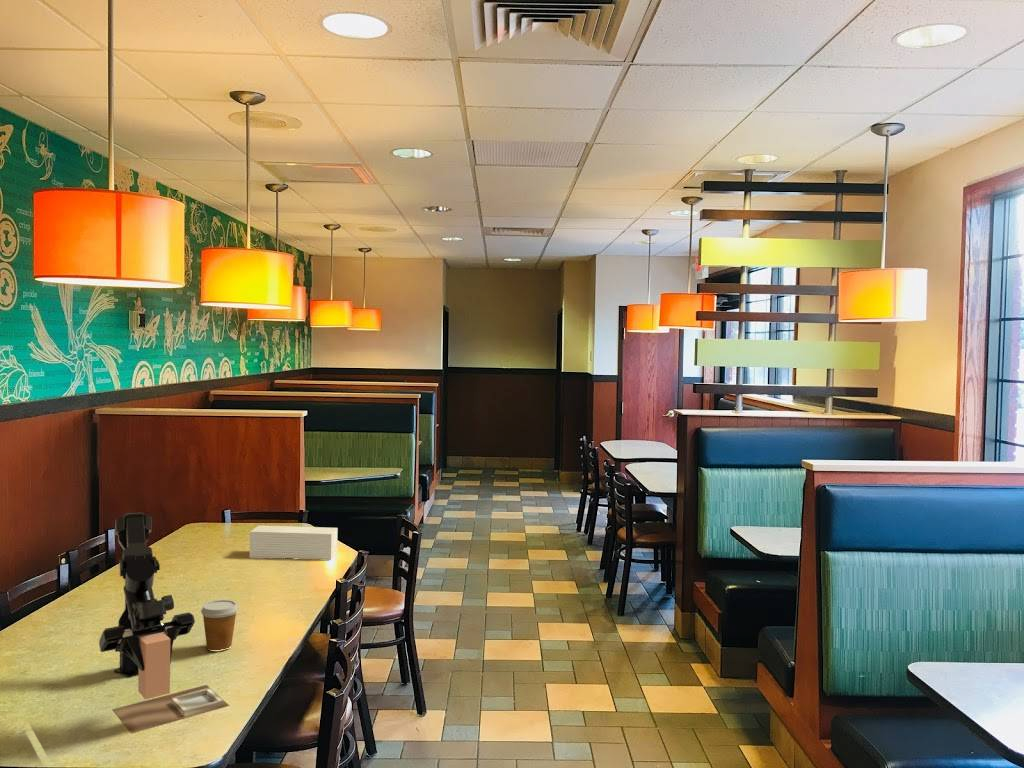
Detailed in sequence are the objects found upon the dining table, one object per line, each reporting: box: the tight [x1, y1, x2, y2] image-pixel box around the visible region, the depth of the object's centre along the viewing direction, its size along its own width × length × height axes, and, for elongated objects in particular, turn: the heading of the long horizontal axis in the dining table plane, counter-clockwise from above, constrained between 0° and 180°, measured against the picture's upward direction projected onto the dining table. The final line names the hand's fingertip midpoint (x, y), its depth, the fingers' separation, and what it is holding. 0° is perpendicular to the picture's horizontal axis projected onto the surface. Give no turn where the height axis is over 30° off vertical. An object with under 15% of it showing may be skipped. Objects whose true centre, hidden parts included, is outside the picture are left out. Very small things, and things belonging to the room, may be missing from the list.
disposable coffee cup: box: [200, 599, 239, 650], centre depth 215 cm, size 10×10×12 cm
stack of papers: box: [248, 525, 339, 561], centre depth 312 cm, size 32×11×11 cm, turn 90°
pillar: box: [137, 632, 171, 700], centre depth 170 cm, size 5×5×12 cm
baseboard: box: [112, 684, 230, 734], centre depth 177 cm, size 14×21×2 cm, turn 132°
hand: (156, 666), depth 169 cm, fingers closed on pillar, 5 cm apart
